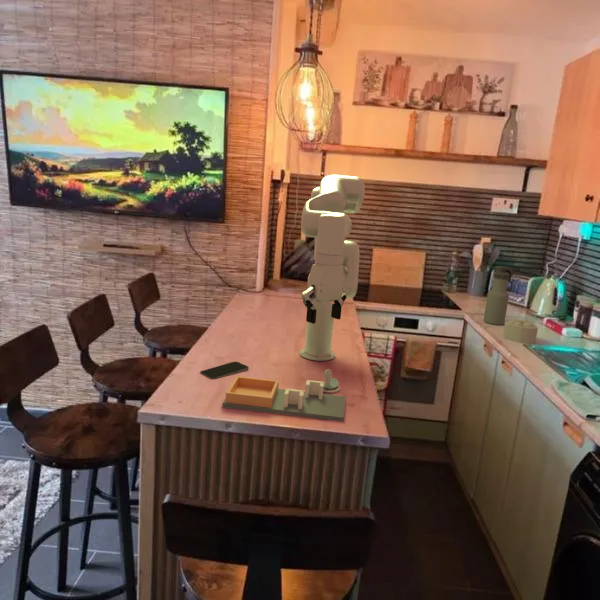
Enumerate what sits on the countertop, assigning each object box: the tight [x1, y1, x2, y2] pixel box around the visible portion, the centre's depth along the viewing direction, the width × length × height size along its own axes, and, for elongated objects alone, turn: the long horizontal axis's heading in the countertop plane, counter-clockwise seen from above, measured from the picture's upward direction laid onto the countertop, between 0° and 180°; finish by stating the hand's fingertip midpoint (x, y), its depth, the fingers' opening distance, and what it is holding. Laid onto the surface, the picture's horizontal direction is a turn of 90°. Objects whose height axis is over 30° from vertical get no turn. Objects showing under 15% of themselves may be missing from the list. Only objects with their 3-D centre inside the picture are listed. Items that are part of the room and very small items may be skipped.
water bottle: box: [483, 265, 514, 326], centre depth 253 cm, size 10×10×28 cm
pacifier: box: [323, 368, 341, 394], centre depth 159 cm, size 7×6×6 cm
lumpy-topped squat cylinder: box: [502, 318, 539, 345], centre depth 229 cm, size 10×13×9 cm
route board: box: [221, 379, 346, 423], centre depth 146 cm, size 14×33×5 cm, turn 84°
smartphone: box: [199, 361, 249, 380], centre depth 167 cm, size 7×1×15 cm
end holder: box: [225, 375, 280, 408], centre depth 147 cm, size 13×13×3 cm
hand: (323, 320), depth 146 cm, fingers open, 9 cm apart
